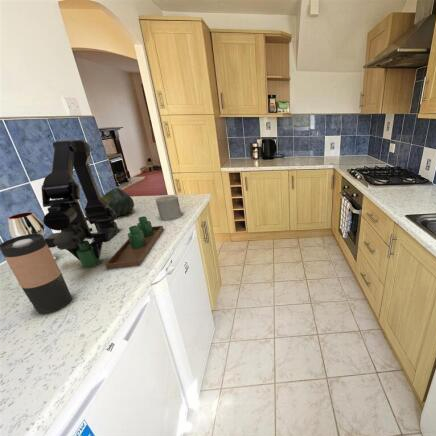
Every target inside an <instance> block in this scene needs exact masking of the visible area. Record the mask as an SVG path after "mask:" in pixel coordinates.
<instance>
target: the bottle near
mask: <svg viewBox="0 0 436 436" xmlns="http://www.w3.org/2000/svg"><path fill="white" fill-rule="evenodd" d="M137 219H138V223H137V224H136V226H138V229H139V230H142V231H143V234H144V238H146V237H150V236H152V235H153V234H154V232H153V228H152V227H153V225H152V222H151V220H148V219H147V216H146V215H142V216H139V217H138V218H137Z"/></svg>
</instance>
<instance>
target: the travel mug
mask: <svg viewBox="0 0 436 436" xmlns="http://www.w3.org/2000/svg"><path fill="white" fill-rule="evenodd" d="M50 249H51V248H49V247H48V245H47V243H46V241H45V238H44V235H43V236H42V235H41V234H28V235H23V236H19V237H16V238H13V237H12V238H10V239H7V240H6V241H2V243H0V252H1V254H2V255H3V257H4V259H5V261H6V263H7V264H8V266H9V268H10V270H11V272H12V273H13V276H14V277H15V279H16V280H17V283H18V284H19V286H20V287H21V290H22V291H23V292H24V294H25V296H26V297H27V298H28V300H29V301H30V303H31V305H32V307H33V308H34V309H35V311H36V312H37V313H38V314H40V315H48V314H52V313H55V312H57V311H59V310H62V309H63V308H65V307H66V306H68V305H69V304H70V303H71V301H72V298H73V297H72V295H71V292H70V290H69V287H68V285H67V283H66V281H65V278H64V276H63V274H62V272H61V269H60V268H59V265H58V263H57V262H56V260H55V259H54V257H55V256H54V255H53V253H52V251H51V250H50Z"/></svg>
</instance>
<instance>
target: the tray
mask: <svg viewBox="0 0 436 436" xmlns="http://www.w3.org/2000/svg"><path fill="white" fill-rule="evenodd" d="M152 228H153V232H154V234H153V235H152V236H150V237H146V238H145V241H146V245H145V246H144V247H142V248H139V249H133V248H132V247H131V244H130V241H129V238H128V239H126V241H125V242H124V243H123V244H122V245H121V246H120V247H119V248H118V250H116V252H115V253H114V254H113V255H112V256H111V257H110V258H109V260H108V261H106V263H105V265H104V266H105V268H106V270H115V269H123V268H131V267H140V266H141V265H142V263H143V262H144V260H145V258H146V257H147V256H148V253H149V252H150V251H151V249H152V247H154V245H155V243H156V241H157V240H158V239H159V238H160V236H161V234H162V232H163V231H164V230H165V229H164V226H163V225H156V226H152Z"/></svg>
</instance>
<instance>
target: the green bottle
mask: <svg viewBox="0 0 436 436" xmlns="http://www.w3.org/2000/svg"><path fill="white" fill-rule="evenodd" d="M90 243H91V242H90V241H89V239H86V240H84V241H83V242H82V243H78V245H79V249H78V250H77V254H78V257H79V259H80V260H79V262H80V264H81V265H82V267H83V268H85V269H88V268H93V267H96V266H98V265H99V264H100V263H101V262H102V261H101V257H100V258H99V259H97V257H96V256H95V253H94V250H93V248H92V246H90V245H89V244H90Z"/></svg>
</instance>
